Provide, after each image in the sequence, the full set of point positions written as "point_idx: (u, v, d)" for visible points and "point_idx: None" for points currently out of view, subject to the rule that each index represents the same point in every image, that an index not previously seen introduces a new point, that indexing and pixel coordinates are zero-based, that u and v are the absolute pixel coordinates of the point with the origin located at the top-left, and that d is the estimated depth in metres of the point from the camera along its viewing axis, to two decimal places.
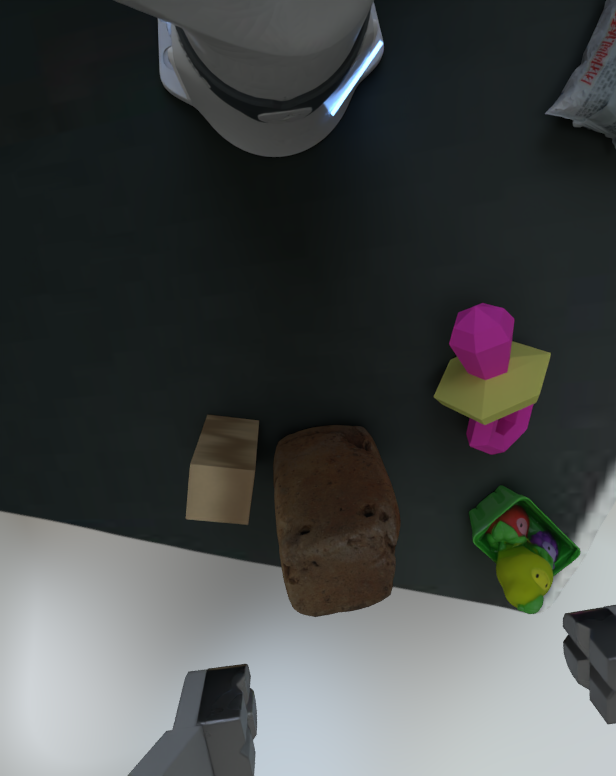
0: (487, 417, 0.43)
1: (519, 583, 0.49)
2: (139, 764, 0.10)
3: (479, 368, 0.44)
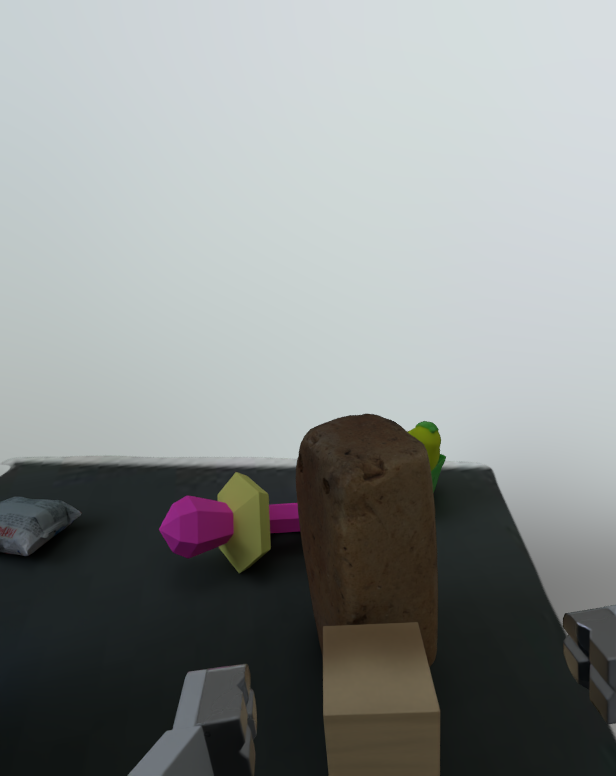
0: (256, 489, 0.48)
1: None
2: (139, 764, 0.10)
3: (217, 513, 0.48)
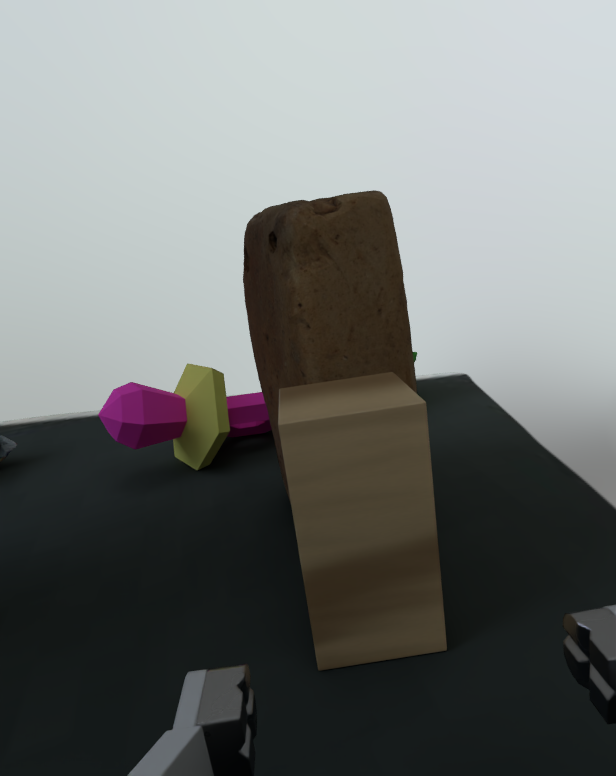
0: None
1: None
2: (139, 764, 0.10)
3: (166, 396, 0.42)
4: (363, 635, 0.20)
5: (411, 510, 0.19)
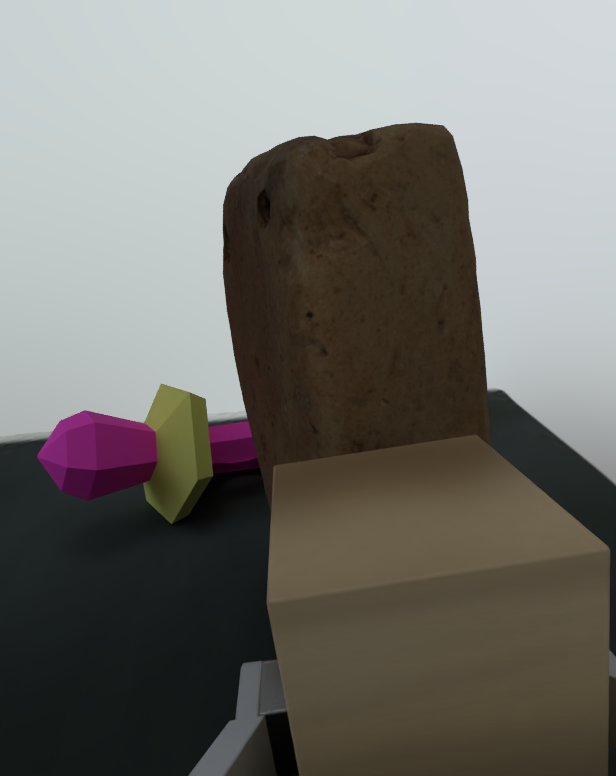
0: None
1: None
2: (207, 753, 0.10)
3: (130, 430, 0.32)
4: None
5: (558, 768, 0.09)
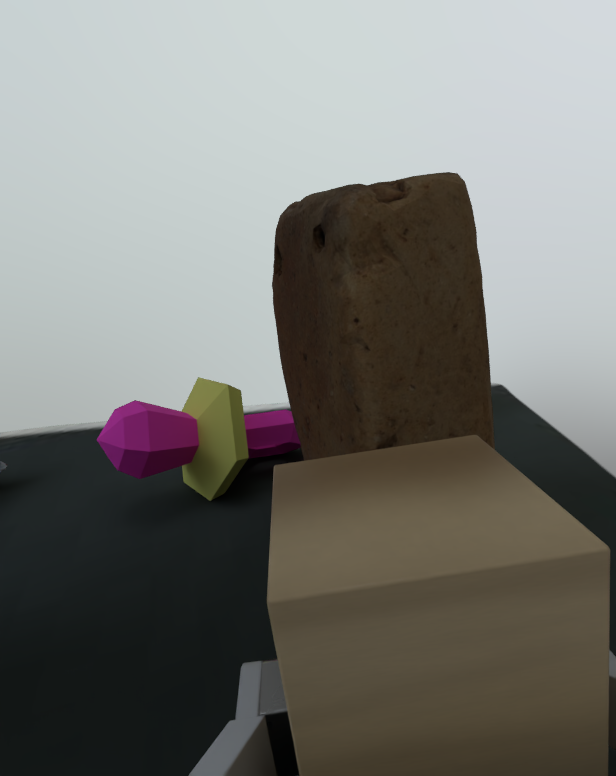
0: (225, 384, 0.37)
1: None
2: (207, 753, 0.10)
3: (175, 417, 0.37)
4: None
5: (559, 767, 0.09)
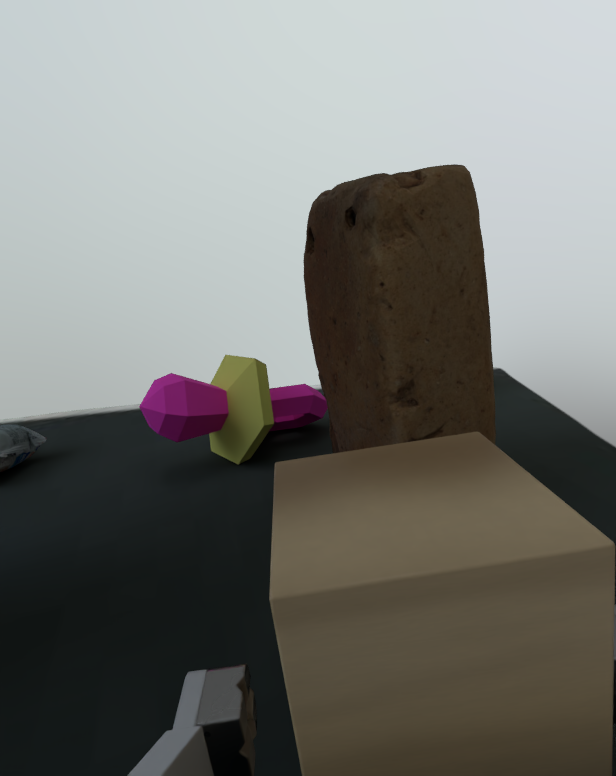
0: (252, 358, 0.41)
1: None
2: (139, 764, 0.10)
3: (208, 388, 0.41)
4: None
5: (563, 765, 0.09)
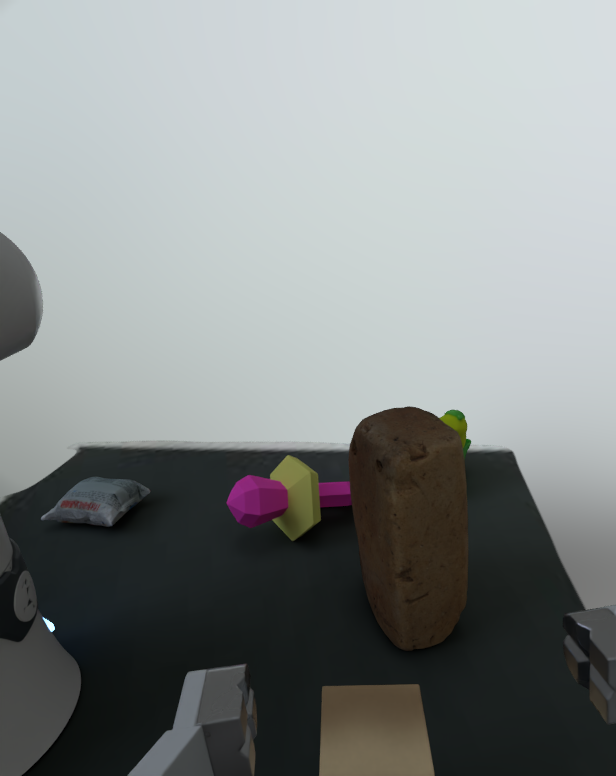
0: (308, 470, 0.56)
1: None
2: (139, 764, 0.10)
3: (275, 490, 0.56)
4: None
5: None
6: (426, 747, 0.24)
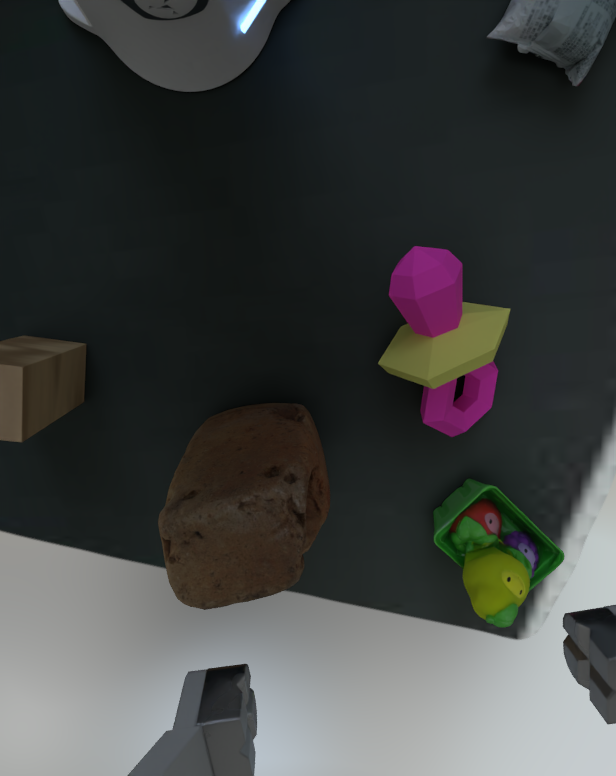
0: (434, 377, 0.37)
1: (487, 588, 0.40)
2: (139, 764, 0.10)
3: (424, 321, 0.37)
4: None
5: None
6: None
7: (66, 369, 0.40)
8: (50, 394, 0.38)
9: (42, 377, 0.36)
